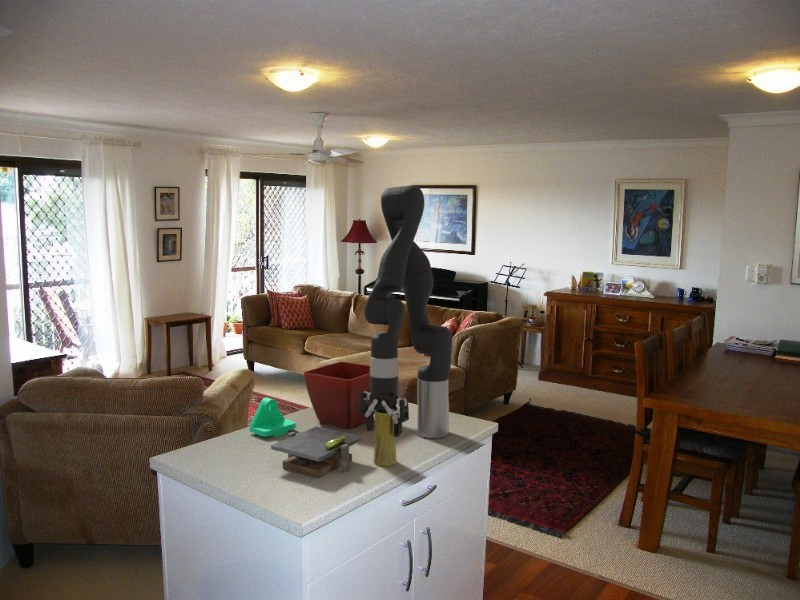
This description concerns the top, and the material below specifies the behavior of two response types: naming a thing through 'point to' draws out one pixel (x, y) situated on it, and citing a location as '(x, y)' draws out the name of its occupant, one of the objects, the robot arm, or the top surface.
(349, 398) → the plant pot
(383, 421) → the vase
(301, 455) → the tilt plate
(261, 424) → the camera mount
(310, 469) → the levelling stand
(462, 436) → the top surface
